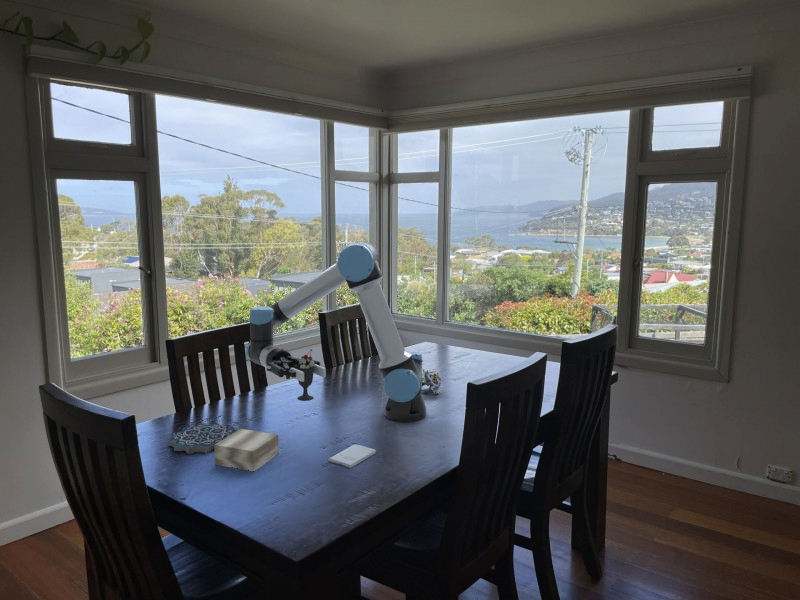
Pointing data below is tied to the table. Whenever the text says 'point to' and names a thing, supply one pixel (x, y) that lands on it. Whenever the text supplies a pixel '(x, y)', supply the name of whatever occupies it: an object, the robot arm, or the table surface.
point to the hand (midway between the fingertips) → (313, 374)
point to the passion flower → (431, 381)
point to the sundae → (306, 375)
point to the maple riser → (246, 449)
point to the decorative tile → (199, 437)
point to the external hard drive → (352, 455)
